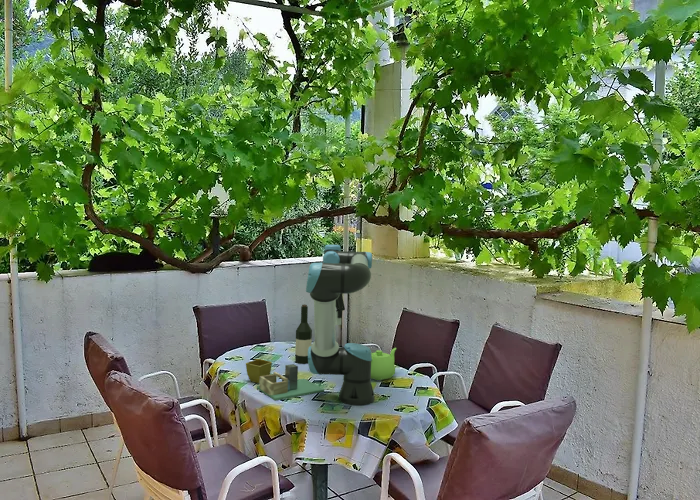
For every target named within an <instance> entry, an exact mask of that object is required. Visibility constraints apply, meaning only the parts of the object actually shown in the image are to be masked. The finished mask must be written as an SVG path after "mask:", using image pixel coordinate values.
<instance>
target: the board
mask: <svg viewBox="0 0 700 500" xmlns="http://www.w3.org/2000/svg"><path fill="white" fill-rule="evenodd" d="M256 390H259V391H260V392H261V393H263V394H265V395H266V396H267V397H269V399H272V400H273V401H274V402H275V401H280V400H286V399H292V398H298V397H304V396H308V395H313V394H319V393H325V389H324V388H322V387H320V386H319V385H317V384H315V383H314V382H311V381H309V380H308V379H306V378H299V379H298V380H297V389H292V390H288V393H282V394H277V395H269V394H267V393H265V392H264V391H262V390H261V389H260V388H259V385H258V386H256Z"/></svg>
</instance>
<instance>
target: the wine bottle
mask: <svg viewBox="0 0 700 500" xmlns="http://www.w3.org/2000/svg"><path fill="white" fill-rule="evenodd" d="M308 310H309V306H308V304H301V307H300V311H301V312H300V324H298V327H297V328H296V330H295V350H294V351H295V353H294V355H295V356H294V358H295V359H294V362H295V363H296V364H298V365H308V348H309V347H310V346H312V343H313V341H312V339H313V337H312V336H313V329H312V328H311V326H310V324H309V323H308V316H309V315H308V313H309V311H308Z"/></svg>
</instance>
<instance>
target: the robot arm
mask: <svg viewBox="0 0 700 500" xmlns="http://www.w3.org/2000/svg"><path fill="white" fill-rule="evenodd" d="M341 248H342V247H341V245H339V244H325V246H324V249H323V250H324V254H323V257H322V261H321V262H311V264H310V265H309V266H308V267H309V268H308V272H307V274H308V275H307V281H306V288H305V292H306V293H308V294H309V296H310V298H311V299H312V300H313V312H314V313H313V314H314V316H313V319H314V323H313V324H314V341H312V346H310V347H309V348H308V364H307V365H308V370H309V372H311V373H312V374H314V375H330V376H331V375H332V376H334V375H335V376H343V379H342V381H343V382H342V385H341V388H340V390H339V392H338V400H339V401H340V402H341V403H344V404H347V405H352V406H354V405H355V406H362V405H369V404H372V403H374V401H375V393H374V389H373V386H372V382H371V380H372V379H371V361H372V358H371V353H372V350H371V348H370V347H368V346H366V345H364V344H360V343H354V342H350V343H349V342H348V343H345V344H344V346H339V343H338V342H337V341H336V326H339V325H340V326H342V317H343V311H345V310H346V308H345V307H346V306H345V303H344V297H343V295H344V294H347V295H348V294H354V293H356V292H359V291H361V290H362V289H364V288H365V287H367V286H368V285H369V283H370V281H371V278H372V273H371V270H370V269H372V267H373V266H372V265H373V254H372V252H369V251H347V250H346V251H345V250H344V251H343V250H341Z"/></svg>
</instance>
